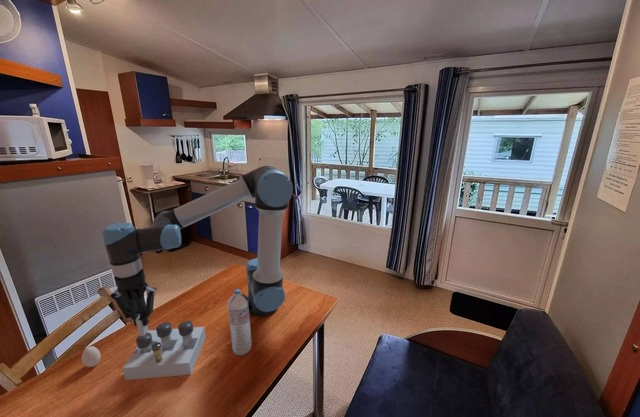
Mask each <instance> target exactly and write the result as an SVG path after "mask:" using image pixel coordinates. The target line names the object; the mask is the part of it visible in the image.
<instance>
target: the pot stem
mask: <svg viewBox="0 0 640 417" xmlns="http://www.w3.org/2000/svg"><path fill="white" fill-rule="evenodd" d="M151 349H152V351H153V352H154V357H155V361H156V363H159V362H161V361H162V360H163V358H162V353H161V343H160V342H157V343H154V344H153V345H152V346H151Z"/></svg>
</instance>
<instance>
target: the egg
mask: <svg viewBox="0 0 640 417" xmlns="http://www.w3.org/2000/svg"><path fill="white" fill-rule="evenodd" d="M100 360H101V352H100V350H99V349H98V348H97V347H95V346H92V345H91V346H88V347H86V348H85V349H84V350H83V352H82V354H81V362H82V364H83V366H85V367H86V368H92V367H95V366H96V365H97V364H98V363H99V362H100Z"/></svg>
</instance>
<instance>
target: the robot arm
mask: <svg viewBox="0 0 640 417" xmlns="http://www.w3.org/2000/svg"><path fill="white" fill-rule="evenodd" d="M293 191H294V187H293V183H292V181H291V179H290V178H289V177H288V175H287V174H286V173H284V172H283V171H282V170H279V169H278V168H276V167H274V166H271V165H262V166H259V167H257V168H255V169H253V170H251V171H248V172H247V173H245V174H243V175H241V176H239V179H238V180H236V181H234V182H231V183H229V184H227V185H224V186H222V187H221V188H218V189H216V190H213V191H211V192H209V193H207V194H205V195H202V196H200V197H198V198H196V199H193V200H191V201H189V202H187V203H185V204H183V205H180V206H178V207H175V208H173V209H171V210H167V211H165V210H164V211H161V212H160V213H158V214H157V215H156V216H155V217H154V218H153V221H152V223H151V226H150V227H143V228H135V226H134V225H133V223H131V222H118V223H113V224H111V225H108V226H106V227H105V228H104V229H103V230H102V237H103V242H104V244H103V245H104V247H105V250H106V253H107V257H108V259H109V264H110V267H111V271H112V272H111V273H112V275H113V279H114V283H115V286H116V289H115V290H114V291H113V292H112V293H111V294H110V296H109V297H110V298H111V299H112V300H114V301H115V303H116V304H117V307H118V308H119V310H120V311H121V313H122V314H123V316H124V318H125V319H127V320H128V319H131V320H132V321H133V325H134V327H136V328H137V331H138V336H144V335H145V334H146V333H147V332H148V331H149V326H148V324H149V323H150V320H149V317H150V316H151V315H152V313H153V312H154V303H155V293H156V292H157V287H150V286H149V285H148V283H147V282H146V276H145V275H146V274H145V271H144V268H143V262H142V259H141V254H143V253H151V252H156V251H157V252H158V251H163V250H171V249H175V248H179V247H180V246H181V245H182V233H181V230H182V229H184V228H186V227H188V226H190V225H192V224H195V223H197V222H199V221H201V220H203V219H205V218H208V217H209V216H211V215H214V214H216V213H218V212H220V211H222V210H224V209H228V208H229V207H231V206H233V205H235V204H237V203H239V202H241V201H243V200H247V199H251V200H252V199H254V207H255V208H256V210H257V211H258V228H257V230H258V234H257V237H258V238H257V257H256V258H253V259H251V260H249V261H247V263H246V268H245V270H246V280H247V292H248V293H247V295H246V296H247V298H248V302H249V303H248V307H249V316H250V315H251V316H252V317H260V318H261V317H266V316H270V315H271V314H273V313H274V312H276V311H277V310H278V309H279V307H282V305H283V304H284V302H285V299H286V292H285V289H284V285H283V284H284V272H283V271H282V270H281V252H282V238H283V236H282V235H283V224H284V222H283V221H284V212H285V211H287V210H288V207H289V201H290V200H291V198H292V195H293ZM145 293H146V299H145ZM145 300H146V301H145Z"/></svg>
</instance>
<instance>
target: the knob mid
mask: <svg viewBox="0 0 640 417" xmlns="http://www.w3.org/2000/svg"><path fill="white" fill-rule="evenodd" d="M172 329H173V327H172V323H171V322H170V321H169V322H167V321H166V322H162V323H160V324H159V325H157V326H156V328H155V330H156V331H157V336H158V337H160V338H161V343H162V347H163V348H167V347H169V346H170V345H171V344H172V340H171V332H172Z"/></svg>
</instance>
